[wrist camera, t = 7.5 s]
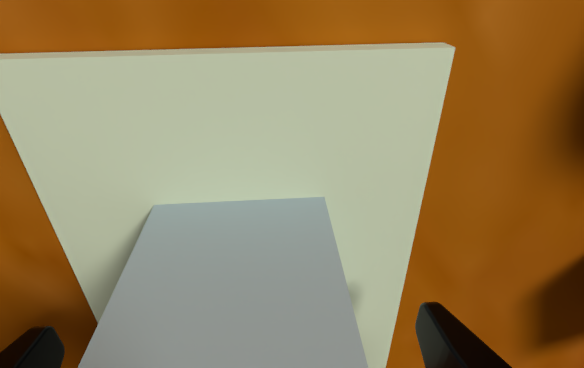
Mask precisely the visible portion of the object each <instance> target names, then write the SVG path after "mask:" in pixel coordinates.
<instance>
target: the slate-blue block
mask: <svg viewBox="0 0 584 368" xmlns="http://www.w3.org/2000/svg"><path fill="white" fill-rule="evenodd" d="M78 368H368V364H367V360H366V357H365V353H364V349H363V345H362V341H361V337H360V333H359V329H358V325H357V322H356V318H355V314H354V310H353V306H352V302H351V298H350V294H349V291H348V287H347V283H346V279H345V275H344V271H343V267H342V263H341V259H340V256H339V252H338V248H337V244H336V240H335V236H334V232H333V228H332V225H331V221H330V217H329V213H328V209H327V205H326V201H325V197H308V198H287V199H266V200H245V201H224V202H203V203H182V204H161V205H154V206H153V208H152V210H151V212H150V215H149V217H148V219H147V221H146V223H145V225H144V227H143V229H142V232H141V234H140V236H139V238H138V240H137V242H136V244H135V247H134V249H133V251H132V253H131V255H130V257H129V259H128V261H127V264H126V266H125V268H124V270H123V272H122V274H121V276H120V279H119V281H118V283H117V285H116V287H115V289H114V291H113V293H112V296H111V298H110V300H109V302H108V304H107V306H106V308H105V310H104V313H103V315H102V317H101V319H100V321H99V323H98V325H97V328H96V330H95V332H94V334H93V336H92V338H91V340H90V342H89V345H88V347H87V349H86V351H85V353H84V355H83V357H82V360H81V362H80V364H79V366H78Z"/></svg>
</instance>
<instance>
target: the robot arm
mask: <svg viewBox="0 0 584 368" xmlns="http://www.w3.org/2000/svg"><path fill="white" fill-rule="evenodd" d="M415 328H416V334H417V338H418V341H419V345H420V349H421V352H422V356H423V360H424V363H425V367H426V368H512V367H511V366H510V365H509V364H507V363H506V362H505V361H504V360H503V359H502V358H501V357H500V356H498V355H497V354H496V353H495V352H494V351H493V350H492V349H491V348H490V347H488V346H487V345H486V344H485V343H484V342H483V341H482V340H481V339H479V338H478V337H477V336H476V335H475V334H474V333H473V332H472V331H470V330H469V329H468V328H467V327H466V326H465V325H464V324H463V323H461V322H460V321H459V320H458V319H457V318H456V317H455V316H454V315H452V314H451V313H450V312H449V311H448V310H447V309H446V308H445V307H443V306H442V305H441V304H440V303H438V302H425V303H422V304H421V305H420V308H419V312H418V316H417V320H416V324H415ZM63 357H64V345H63V343H62V341H61V340H60V338H59V336H58V334H57V333H56V331H55V329H54V328H53V327H51V326H37V327H33V328H31V329H29V330H28V331H26V332H25V333H24V334H23V335H21V336H20V337H19V338H18V339H16V340H15V341H14V342H13V343H12V344H10V345H9V346H8V347H7V348H5V349H4V350H3V351H2V352H0V368H60V367H61V364H62V361H63Z"/></svg>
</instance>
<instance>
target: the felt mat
mask: <svg viewBox="0 0 584 368" xmlns="http://www.w3.org/2000/svg"><path fill="white" fill-rule="evenodd" d="M454 51H455V47H453V46H451V45H448V44H446V43H444V42H441V43H402V44H363V45H324V46H285V47H246V48H206V49H167V50H128V51H89V52H50V53H11V54H0V114H1V116H2V118H3V120H4V123H5V125H6V127H7V129H8V131H9V133H10V135H11V138H12V140H13V142H14V144H15V146H16V148H17V150H18V153H19V155H20V157H21V159H22V161H23V163H24V166H25V168H26V170H27V172H28V174H29V176H30V178H31V181H32V183H33V185H34V187H35V189H36V191H37V193H38V196H39V198H40V200H41V202H42V204H43V206H44V209H45V211H46V213H47V215H48V217H49V219H50V221H51V224H52V226H53V228H54V230H55V232H56V234H57V236H58V239H59V241H60V243H61V245H62V247H63V249H64V252H65V254H66V256H67V258H68V260H69V262H70V264H71V267H72V269H73V271H74V273H75V275H76V277H77V279H78V282H79V284H80V286H81V288H82V290H83V292H84V294H85V297H86V299H87V301H88V303H89V305H90V307H91V310H92V312H93V314H94V316H95V318H96V320H97V322H98V323H99V321H100V319H101V317H102V315H103V313H104V310H105V308H106V306H107V304H108V302H109V300H110V298H111V296H112V293H113V291H114V289H115V287H116V285H117V283H118V281H119V279H120V276H121V274H122V272H123V270H124V268H125V266H126V264H127V261H128V259H129V257H130V255H131V253H132V251H133V249H134V247H135V244H136V242H137V240H138V238H139V236H140V234H141V232H142V229H143V227H144V225H145V223H146V221H147V219H148V217H149V215H150V212H151V210H152V208H153V206H154V205H161V204H182V203H203V202H224V201H245V200H266V199H287V198H308V197H325V201H326V205H327V209H328V213H329V217H330V221H331V225H332V228H333V232H334V236H335V240H336V244H337V248H338V252H339V256H340V259H341V263H342V267H343V271H344V275H345V279H346V283H347V287H348V291H349V294H350V298H351V302H352V306H353V310H354V314H355V318H356V322H357V325H358V329H359V333H360V337H361V341H362V345H363V349H364V353H365V357H366V360H367V364H368V368H386V364H387V359H388V354H389V350H390V345H391V341H392V336H393V331H394V327H395V322H396V318H397V313H398V308H399V304H400V299H401V295H402V290H403V285H404V281H405V276H406V272H407V267H408V263H409V258H410V253H411V249H412V244H413V240H414V235H415V230H416V226H417V221H418V217H419V212H420V207H421V203H422V198H423V194H424V189H425V184H426V180H427V175H428V171H429V166H430V161H431V157H432V152H433V148H434V143H435V139H436V134H437V129H438V125H439V120H440V116H441V111H442V106H443V102H444V97H445V93H446V88H447V83H448V79H449V74H450V70H451V65H452V60H453V56H454Z"/></svg>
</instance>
